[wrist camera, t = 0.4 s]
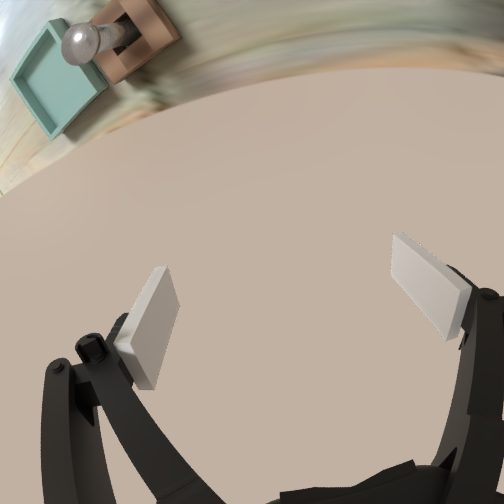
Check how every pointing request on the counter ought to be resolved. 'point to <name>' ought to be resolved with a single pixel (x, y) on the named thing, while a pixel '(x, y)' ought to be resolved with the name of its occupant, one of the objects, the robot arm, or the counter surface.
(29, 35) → the counter surface
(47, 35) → the tray
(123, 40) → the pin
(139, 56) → the holder
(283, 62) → the counter surface
